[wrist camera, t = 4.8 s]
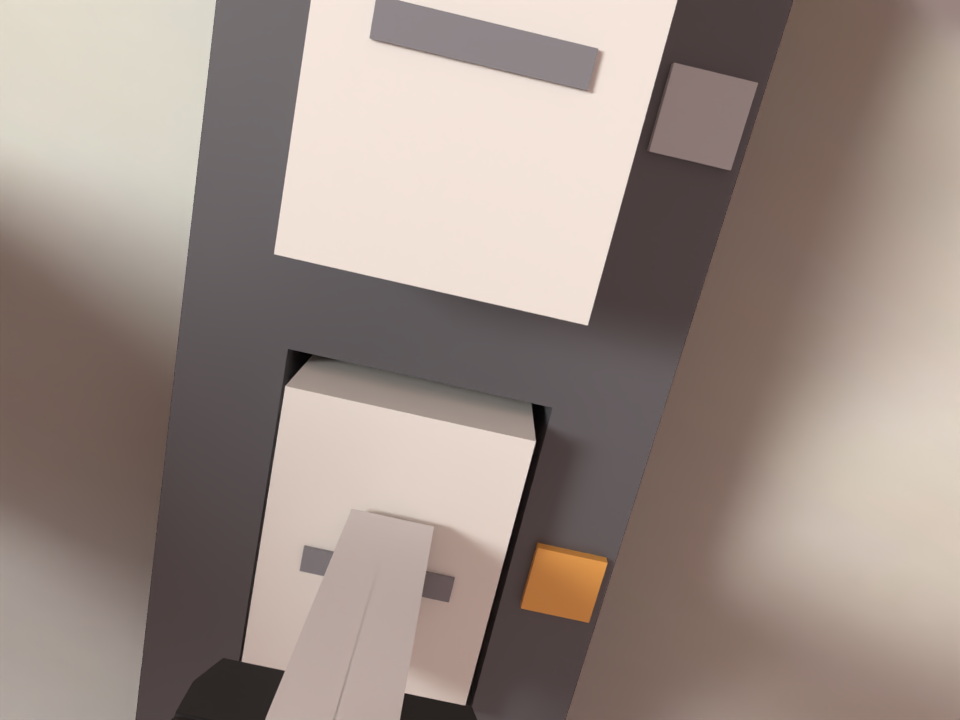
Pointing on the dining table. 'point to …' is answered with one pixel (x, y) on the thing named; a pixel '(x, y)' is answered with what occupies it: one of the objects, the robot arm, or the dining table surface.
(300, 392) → the button
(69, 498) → the dining table surface
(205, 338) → the power strip
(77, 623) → the dining table surface
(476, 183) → the button
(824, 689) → the dining table surface
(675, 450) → the dining table surface
